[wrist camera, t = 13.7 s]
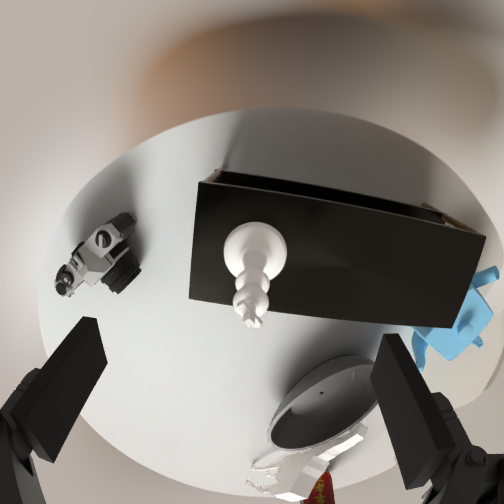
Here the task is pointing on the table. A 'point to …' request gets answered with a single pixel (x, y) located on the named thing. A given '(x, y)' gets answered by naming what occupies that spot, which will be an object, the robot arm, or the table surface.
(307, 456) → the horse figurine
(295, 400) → the bowl
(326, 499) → the soda can
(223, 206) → the rack
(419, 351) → the teapot
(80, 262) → the camera
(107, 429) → the table surface
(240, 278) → the chess piece
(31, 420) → the robot arm
